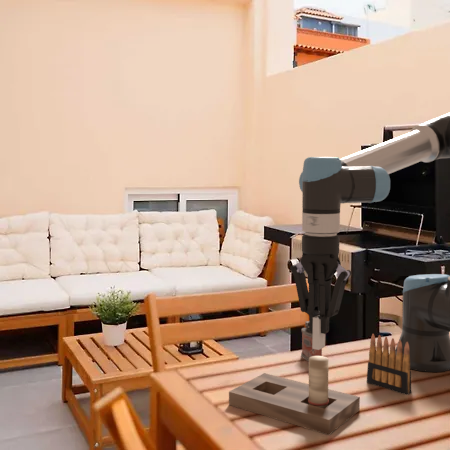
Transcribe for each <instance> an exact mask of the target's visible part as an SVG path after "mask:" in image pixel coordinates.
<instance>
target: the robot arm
mask: <svg viewBox="0 0 450 450" xmlns="http://www.w3.org/2000/svg"><path fill="white" fill-rule="evenodd" d="M439 159H440V160H441V159H450V112H447V113H445V114H443V115H440V116H437V117H434V118H432V119H429V120H427V121H424V122H423V123H420V124H417V125H415V126H414V127H412V128H411V130H410V132H407V133H405V134H402V135H400V136H397V137H394V138H392V139H389V140H387V141H384V142H381V143H378V144H376V145H373V146H370V147H368V148H364V149H362V150H360V151H357V152H355V153H351V154H349V155H347V156H344V157H342V158H340V157H339V156H308V157H307V158H305V159H304V161H303V165H302V166H303V168H302V171H301V173H300V175H299V178H298V184H299V189H300V191H301V193H302V194H301V195H302V197H301V198H302V199H301V200H302V204H301V205H302V207H301V208H302V209H301V210H302V212H301V213H302V214H301V215H302V217H301V221H302V223H301V231H302V232H303V233H304V234H302V235H301V252H302V255H301V257H300V261H299V262H297V263H296V264H294V265H290V267H289V269H290V272H291V273H292V275H293V278H294V282H295V289H296V292H297V297H298V303H299V310H300V311H301V312H302V313H306V314H307V315H308V321H309V330H310V331H312V332H313V340H312V349H317V350H320V349H322V350H323V348H326V334H327V333H329V331H330V318H332V317H333V316H336V315H338V314H339V311H340V308H341V304H342V301H343V296H344V294H345V293H344V292H345V288H346V285H347V281H348V280H349V278H350V277H351V276H352V271H351V269H346V268H344V266H342V263H341V260H340V257H339V255H340V240H341V239H340V238H341V237H340V236H339V234H338V233H340V231H341V205H342V204H356V203H359V204H360V203H368V204H372V203H374V202H375V203H377V202H382V201H383V200H385V199H386V198H387V197H388V196H389V193H390V192H391V191H390V190H391V178H390V174H392V173H395V172H397V171H401V170H402V169H405V168H408V167H410V166H413V165H415V164H417V163H419V162H423V163H431V162H433V161H436V160H439ZM305 273H306V274H305ZM335 274H336V275H335ZM306 275H307V277H306ZM333 276H336V280H335V282H334V287H333V290H332V283H333ZM306 278H307V279H306ZM331 290H332V291H333V292H332V291H331ZM331 293H332V294H331ZM401 319H402V324H401V328H402V330H401V334H400V336H399V338H398V342H399V340H401V343H402V355H403V357H404V348H405V344H406V342H408V344H409V351H410V352H409V354H410V370H414V371H419V372H427V373H429V372H430V373H431V372H432V373H439V372H440V373H441V372H447V371H450V274H441V273H430V274H427V273H426V274H416V275H409V276H408V277H406V278H405V279H404V281H403V290H402V317H401ZM398 342H397V343H396V346H395V353H396V355H397V346H398Z"/></svg>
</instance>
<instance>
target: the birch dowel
mask: <svg viewBox="0 0 450 450" xmlns="http://www.w3.org/2000/svg"><path fill="white" fill-rule="evenodd" d="M308 384H309V398H308V403H309V405H313V406H316V407H320V408H324V409H325V408H326V407H327V406H328V403H329V400H328V389H329V358H328V357H327V356H323V355H322V356H312V357H309V361H308Z"/></svg>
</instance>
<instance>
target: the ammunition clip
mask: <svg viewBox="0 0 450 450" xmlns="http://www.w3.org/2000/svg"><path fill="white" fill-rule="evenodd" d="M381 336H382V335H380V334H379V335H378V336H377V341H376V336H375V334H374V333H372V334H371V338H370V344H369V345H370V346H369V352H368V362H367V371H366V372H367V373H366V383H367V384H370V385H373V386H376V387H379V388H384V389H386V390H390V391H393V392H395V393H399V394H403V395H406V396H407V395H409V394H412V371H411V369H410V354H409V352H410V351H409V344H408V342H406V344H405V348H404V357H403V355H402V343H401V340H399V339H398V341H399V342H397V344H398V346H397V345H396V341H395V338H391V341H390V343H389V339H388V336H385V338H384V340H383V341H382V337H381ZM389 344H390V346H389ZM396 347H397V355H396V353H395V349H396Z"/></svg>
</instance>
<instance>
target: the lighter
mask: <svg viewBox="0 0 450 450" xmlns="http://www.w3.org/2000/svg"><path fill="white" fill-rule="evenodd" d="M301 336H302V337H301V341H302V342H301V353H300V354H301V356H300V357H302V359H303V360H305V361H307V362H309V357H312V356H323V352H322V351H323V348H322V349H320V350H317V349H312V340H313V332H312V331H310V330H309V320H308V321H307V320H306V321H305V327H302V328H301Z"/></svg>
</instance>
